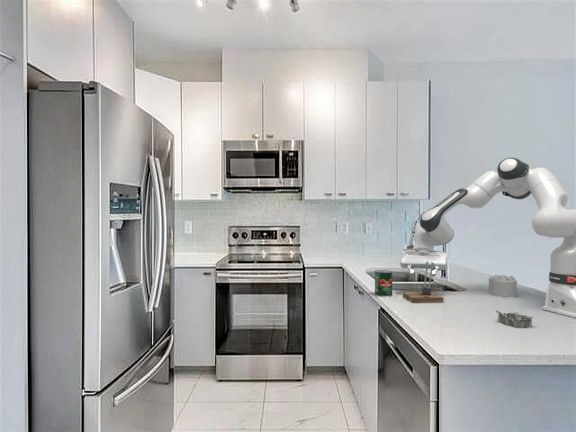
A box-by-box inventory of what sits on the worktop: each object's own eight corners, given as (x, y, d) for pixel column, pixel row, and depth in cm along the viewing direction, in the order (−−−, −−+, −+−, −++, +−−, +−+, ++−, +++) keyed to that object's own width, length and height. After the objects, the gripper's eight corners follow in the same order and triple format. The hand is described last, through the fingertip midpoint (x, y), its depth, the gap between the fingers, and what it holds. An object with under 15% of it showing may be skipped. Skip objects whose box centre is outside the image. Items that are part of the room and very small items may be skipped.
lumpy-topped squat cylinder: (508, 292, 210) (508, 274, 210) (522, 297, 197) (522, 278, 197) (486, 292, 210) (486, 274, 210) (498, 297, 197) (498, 278, 197)
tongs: (430, 295, 190) (434, 263, 190) (421, 294, 191) (425, 262, 191) (430, 294, 193) (434, 262, 193) (421, 293, 194) (425, 261, 194)
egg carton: (494, 321, 155) (494, 310, 155) (512, 320, 157) (512, 308, 157) (517, 329, 145) (517, 316, 145) (536, 327, 146) (536, 315, 146)
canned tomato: (382, 292, 208) (382, 269, 208) (396, 295, 201) (396, 271, 201) (371, 294, 203) (371, 270, 203) (384, 297, 197) (384, 272, 196)
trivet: (443, 302, 185) (443, 297, 185) (413, 303, 185) (413, 297, 184) (431, 296, 198) (431, 291, 198) (402, 297, 197) (402, 291, 197)
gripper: (447, 255, 204) (447, 280, 195) (401, 254, 211) (399, 278, 202) (447, 246, 200) (447, 271, 191) (400, 246, 207) (399, 269, 197)
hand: (422, 274), depth 196 cm, fingers open, 8 cm apart
